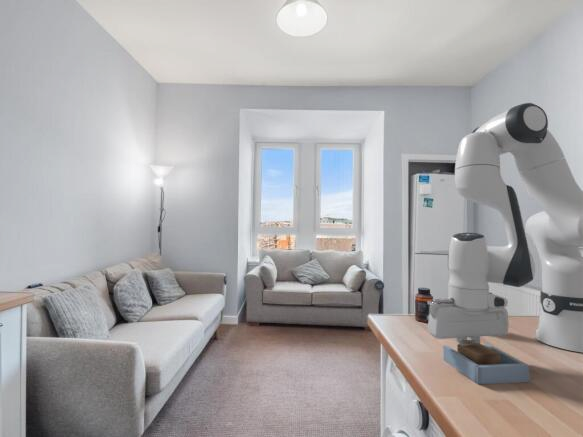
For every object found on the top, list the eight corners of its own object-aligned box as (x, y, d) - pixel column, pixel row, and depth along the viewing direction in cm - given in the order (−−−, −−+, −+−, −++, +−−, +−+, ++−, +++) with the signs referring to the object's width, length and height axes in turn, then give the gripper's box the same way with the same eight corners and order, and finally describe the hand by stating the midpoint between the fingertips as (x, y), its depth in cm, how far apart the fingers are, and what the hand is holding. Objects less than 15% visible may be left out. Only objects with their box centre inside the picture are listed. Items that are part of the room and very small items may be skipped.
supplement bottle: (435, 323, 105) (435, 290, 105) (416, 322, 106) (416, 289, 106) (430, 318, 111) (430, 287, 111) (413, 317, 112) (413, 286, 112)
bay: (487, 357, 78) (487, 343, 78) (529, 381, 66) (529, 365, 66) (443, 359, 76) (443, 345, 76) (477, 384, 64) (477, 367, 65)
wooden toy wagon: (480, 361, 75) (480, 339, 76) (501, 372, 70) (501, 348, 70) (455, 363, 74) (455, 340, 74) (474, 375, 68) (474, 350, 69)
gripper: (438, 302, 71) (438, 362, 71) (513, 299, 75) (513, 356, 75) (422, 296, 77) (422, 351, 77) (492, 294, 81) (492, 346, 81)
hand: (468, 353), depth 76 cm, fingers closed
